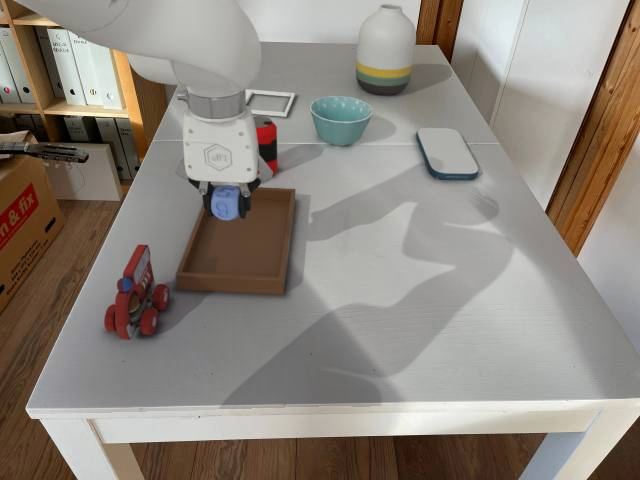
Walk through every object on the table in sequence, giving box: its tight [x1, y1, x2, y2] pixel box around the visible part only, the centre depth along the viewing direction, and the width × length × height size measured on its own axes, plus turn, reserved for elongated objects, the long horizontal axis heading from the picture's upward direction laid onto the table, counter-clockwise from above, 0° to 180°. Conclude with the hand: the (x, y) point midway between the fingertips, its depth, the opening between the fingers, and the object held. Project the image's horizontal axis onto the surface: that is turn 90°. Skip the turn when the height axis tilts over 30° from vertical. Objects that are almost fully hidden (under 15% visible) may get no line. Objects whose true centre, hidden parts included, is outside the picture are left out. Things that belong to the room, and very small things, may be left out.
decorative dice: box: [211, 184, 241, 220], centre depth 76 cm, size 4×4×4 cm
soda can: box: [253, 115, 278, 176], centre depth 110 cm, size 8×8×12 cm
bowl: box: [309, 95, 374, 147], centre depth 125 cm, size 16×16×8 cm
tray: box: [175, 184, 296, 296], centre depth 93 cm, size 28×18×3 cm, turn 178°
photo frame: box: [245, 88, 296, 118], centre depth 142 cm, size 15×1×18 cm
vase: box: [355, 3, 417, 96], centre depth 148 cm, size 17×17×24 cm
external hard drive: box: [415, 127, 480, 181], centre depth 122 cm, size 24×12×2 cm, turn 1°
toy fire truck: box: [103, 244, 170, 341], centre depth 75 cm, size 7×12×10 cm, turn 175°
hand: (228, 211), depth 77 cm, fingers closed on decorative dice, 4 cm apart
